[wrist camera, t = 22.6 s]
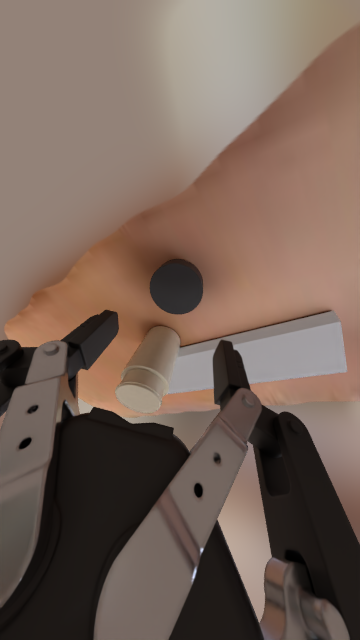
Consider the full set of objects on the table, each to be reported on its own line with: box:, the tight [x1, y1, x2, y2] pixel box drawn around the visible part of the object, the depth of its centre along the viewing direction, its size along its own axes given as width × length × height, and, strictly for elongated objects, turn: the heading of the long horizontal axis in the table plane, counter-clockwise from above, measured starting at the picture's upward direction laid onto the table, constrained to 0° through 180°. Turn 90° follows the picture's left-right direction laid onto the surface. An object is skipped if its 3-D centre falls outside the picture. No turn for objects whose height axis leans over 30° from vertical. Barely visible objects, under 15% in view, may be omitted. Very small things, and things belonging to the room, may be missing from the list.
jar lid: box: [150, 259, 203, 314], centre depth 19 cm, size 7×7×2 cm
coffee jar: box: [115, 326, 180, 413], centre depth 21 cm, size 6×6×11 cm
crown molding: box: [167, 311, 347, 394], centre depth 25 cm, size 29×12×4 cm, turn 116°
